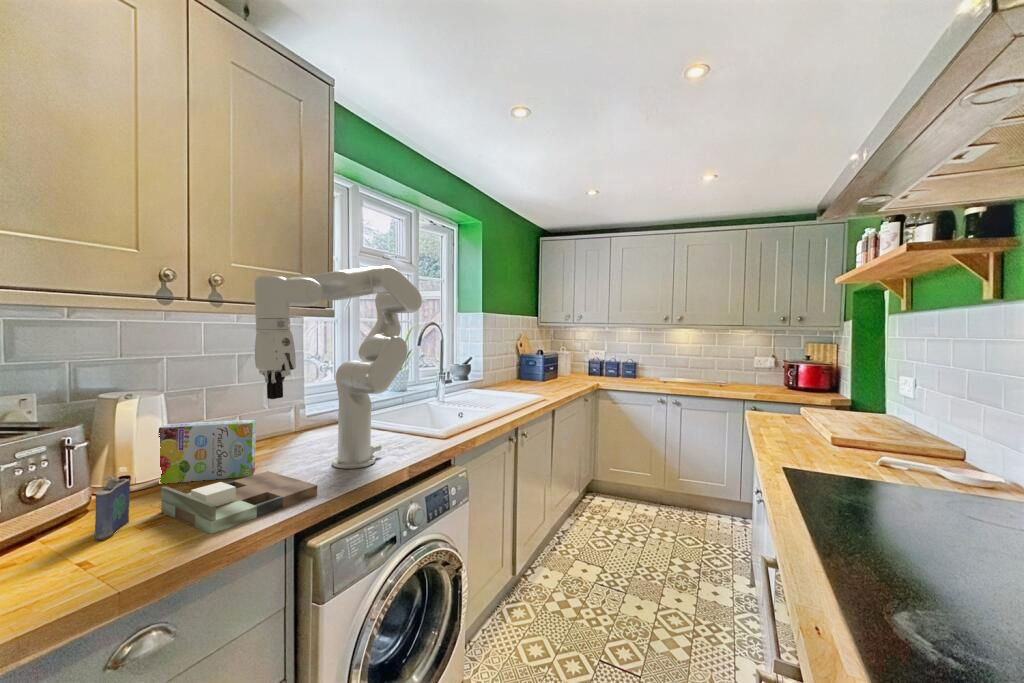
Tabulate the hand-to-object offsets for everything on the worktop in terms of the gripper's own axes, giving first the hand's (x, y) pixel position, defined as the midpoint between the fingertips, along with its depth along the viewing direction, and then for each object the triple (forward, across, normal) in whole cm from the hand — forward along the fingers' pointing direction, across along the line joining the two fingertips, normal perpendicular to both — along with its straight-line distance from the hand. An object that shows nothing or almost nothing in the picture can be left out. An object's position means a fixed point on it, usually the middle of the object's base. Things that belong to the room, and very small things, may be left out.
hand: (275, 397), depth 108 cm
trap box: (+23, -2, +10) cm, 25 cm away
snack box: (+24, +23, +4) cm, 33 cm away
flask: (+22, +6, +31) cm, 38 cm away
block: (+20, -2, +16) cm, 26 cm away
